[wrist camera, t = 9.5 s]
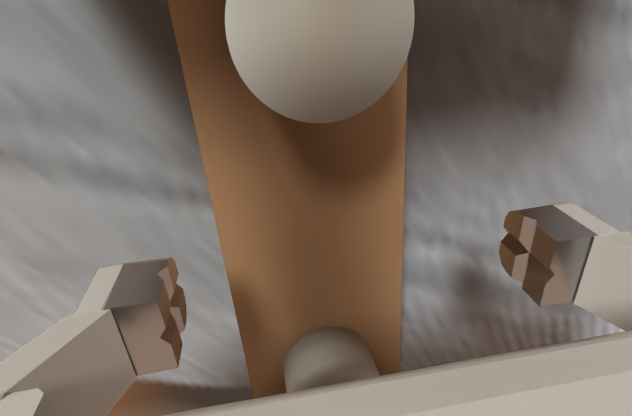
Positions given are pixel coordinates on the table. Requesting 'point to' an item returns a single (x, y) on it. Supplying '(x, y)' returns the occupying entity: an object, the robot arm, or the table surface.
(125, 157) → the table surface
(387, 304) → the tray
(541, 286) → the robot arm
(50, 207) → the table surface
